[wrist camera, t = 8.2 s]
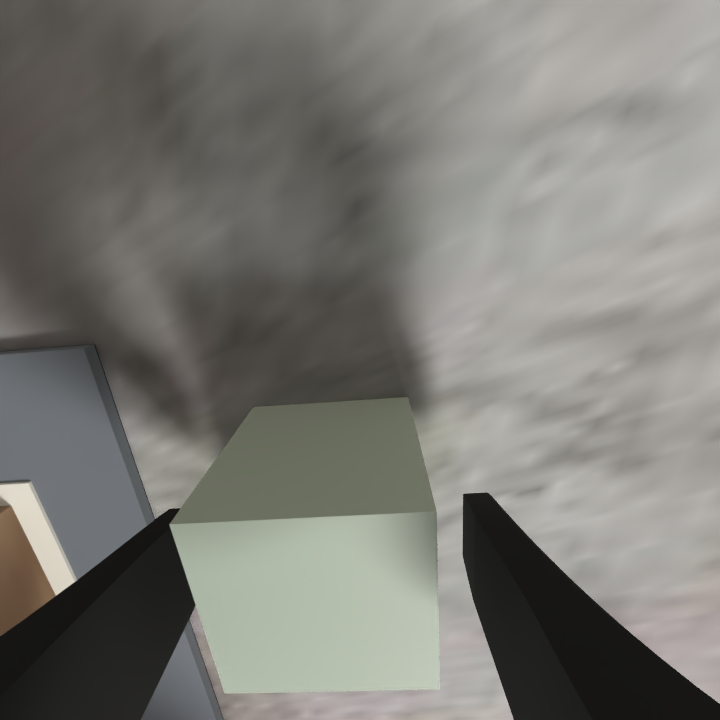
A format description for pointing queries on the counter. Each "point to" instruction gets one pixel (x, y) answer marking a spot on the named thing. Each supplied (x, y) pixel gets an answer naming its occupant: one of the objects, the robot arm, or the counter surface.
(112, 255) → the counter surface
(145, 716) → the mat
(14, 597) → the walnut block
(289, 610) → the sage block
